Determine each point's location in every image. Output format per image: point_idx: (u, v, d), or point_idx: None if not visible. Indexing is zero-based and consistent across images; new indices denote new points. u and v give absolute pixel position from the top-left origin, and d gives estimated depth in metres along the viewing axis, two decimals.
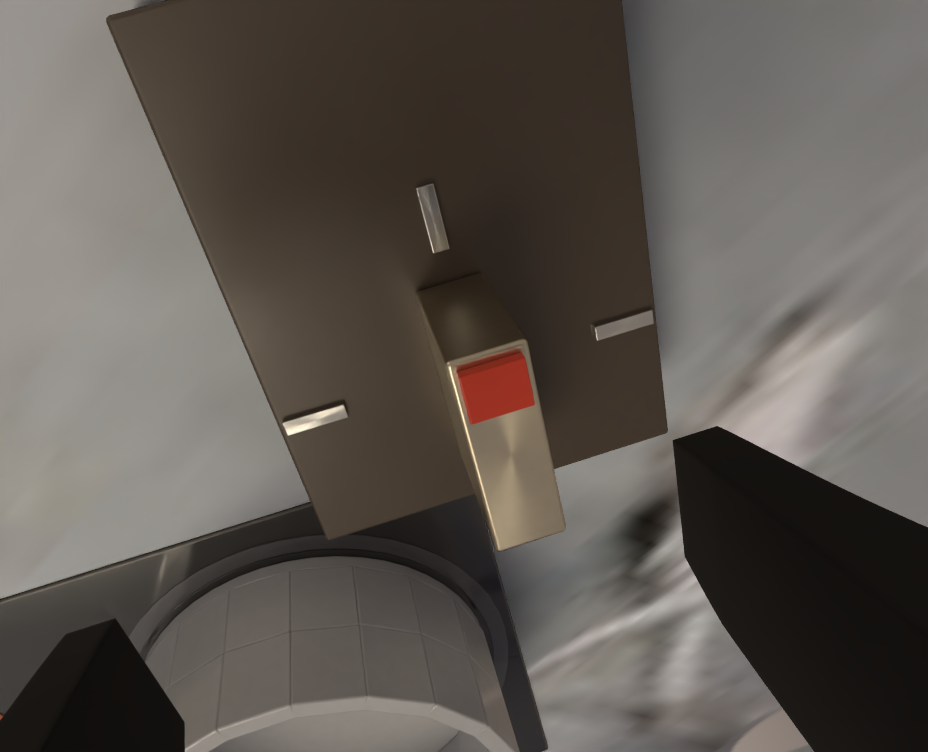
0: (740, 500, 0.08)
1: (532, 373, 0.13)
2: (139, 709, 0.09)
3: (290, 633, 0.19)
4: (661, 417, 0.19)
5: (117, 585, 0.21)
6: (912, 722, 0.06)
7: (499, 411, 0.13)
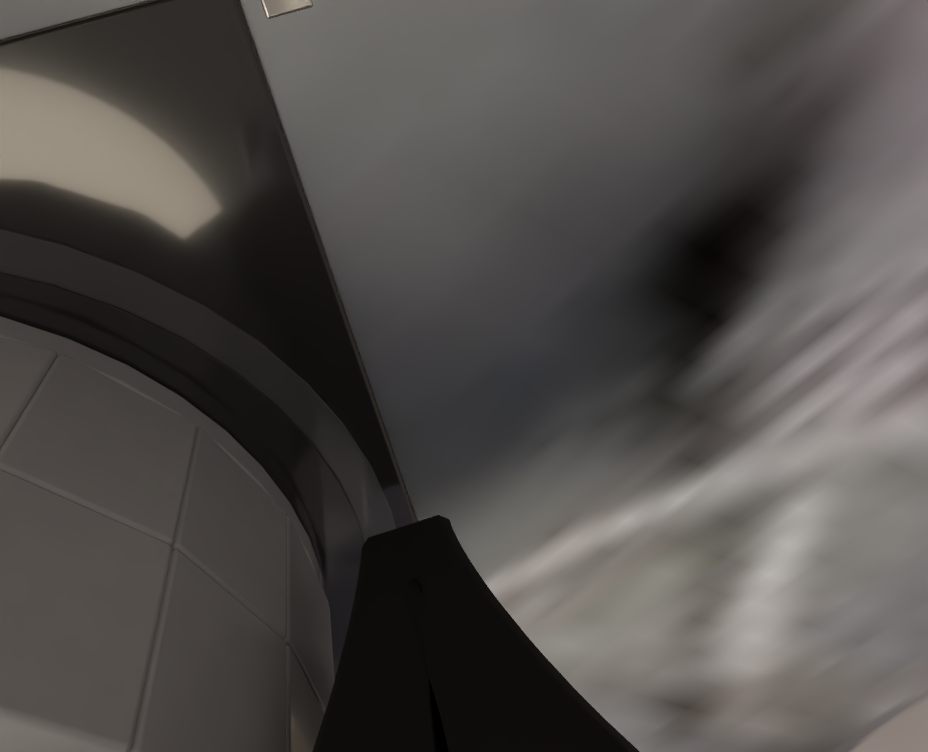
0: (409, 608, 0.08)
1: None
2: None
3: None
4: None
5: None
6: None
7: None
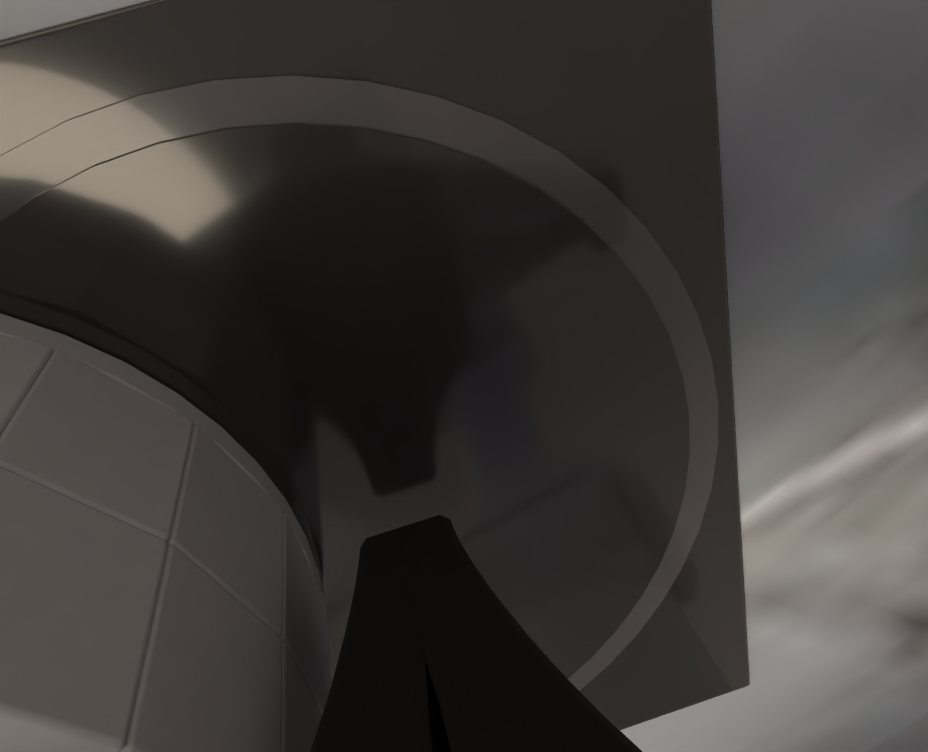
0: (409, 608, 0.08)
1: None
2: None
3: None
4: None
5: None
6: None
7: None
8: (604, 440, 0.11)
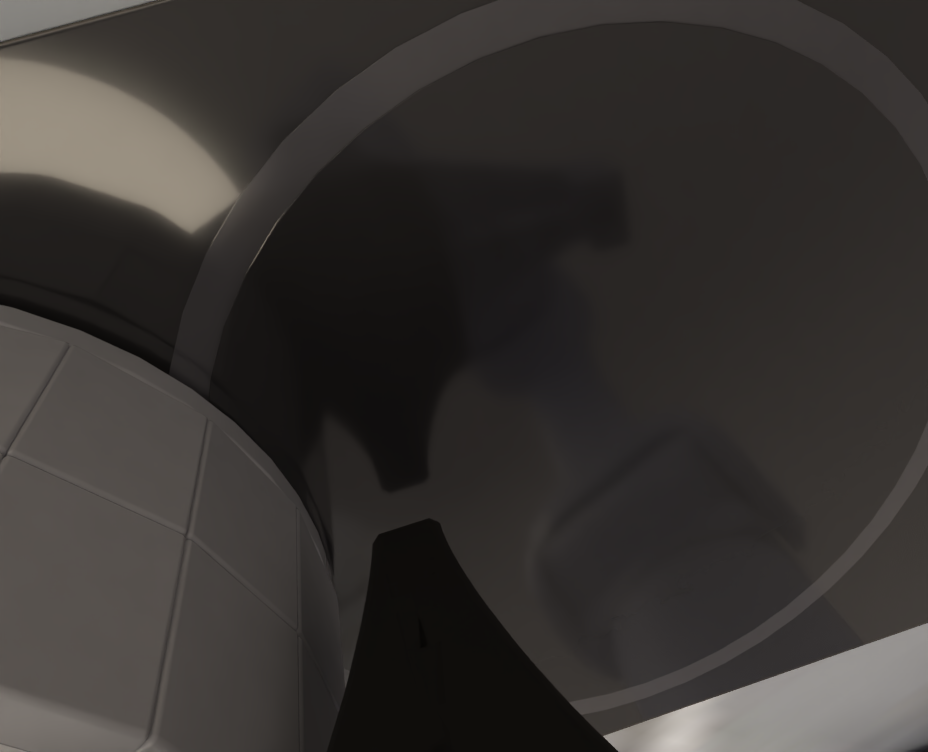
0: (397, 613, 0.08)
1: None
2: None
3: None
4: None
5: (191, 66, 0.08)
6: None
7: None
8: (869, 355, 0.12)
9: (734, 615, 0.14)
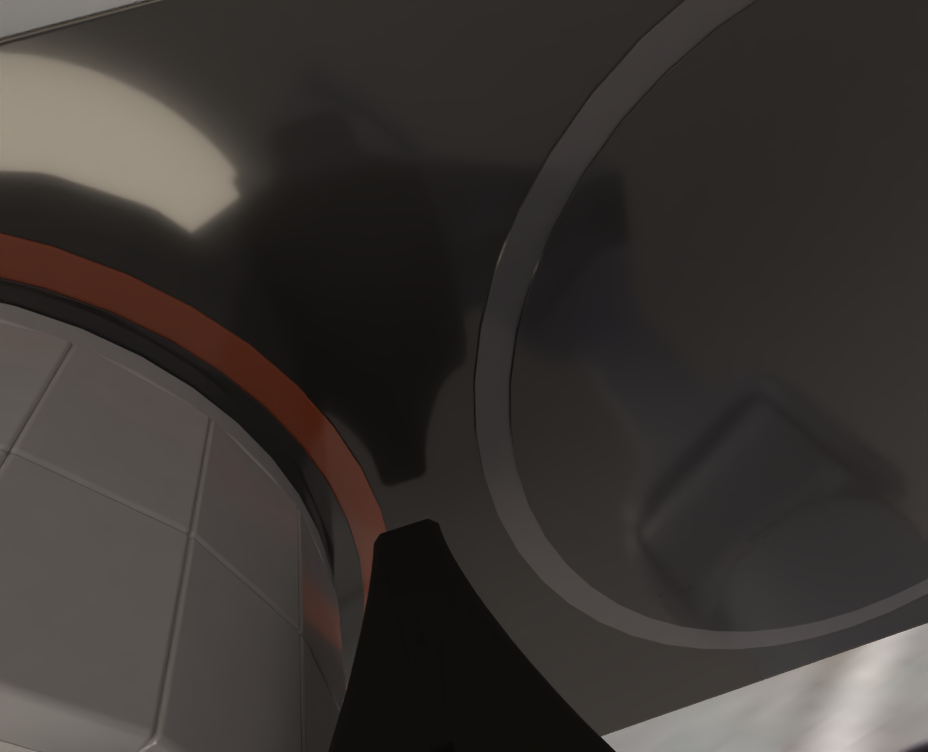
0: (396, 613, 0.08)
1: None
2: None
3: None
4: None
5: None
6: None
7: None
8: None
9: None
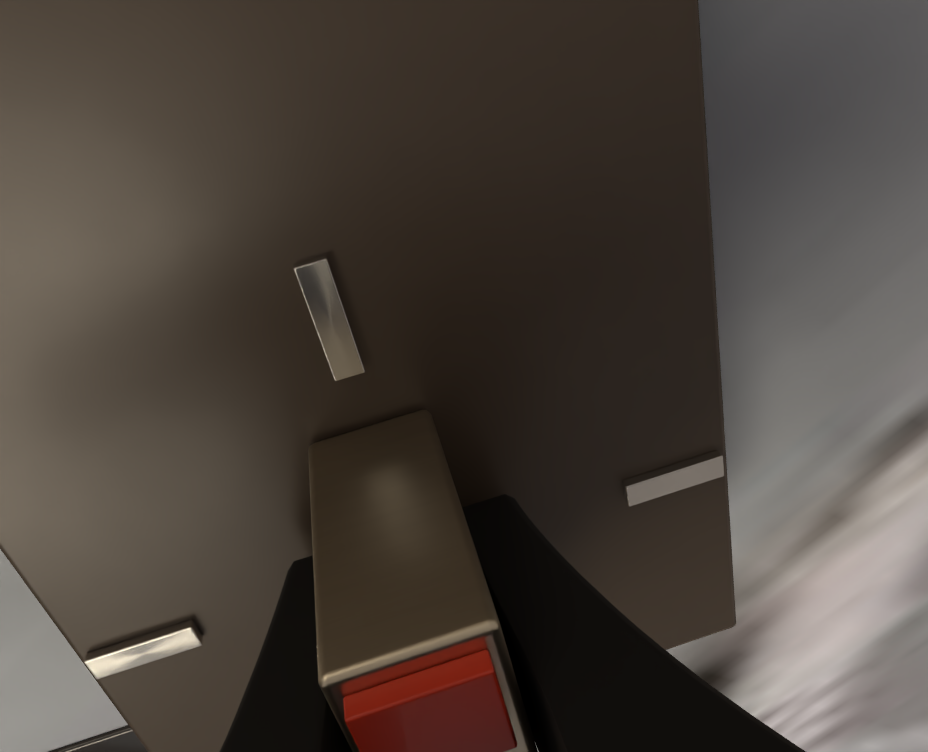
0: (487, 583, 0.08)
1: (511, 681, 0.06)
2: None
3: None
4: (728, 606, 0.12)
5: None
6: None
7: None
8: None
9: None
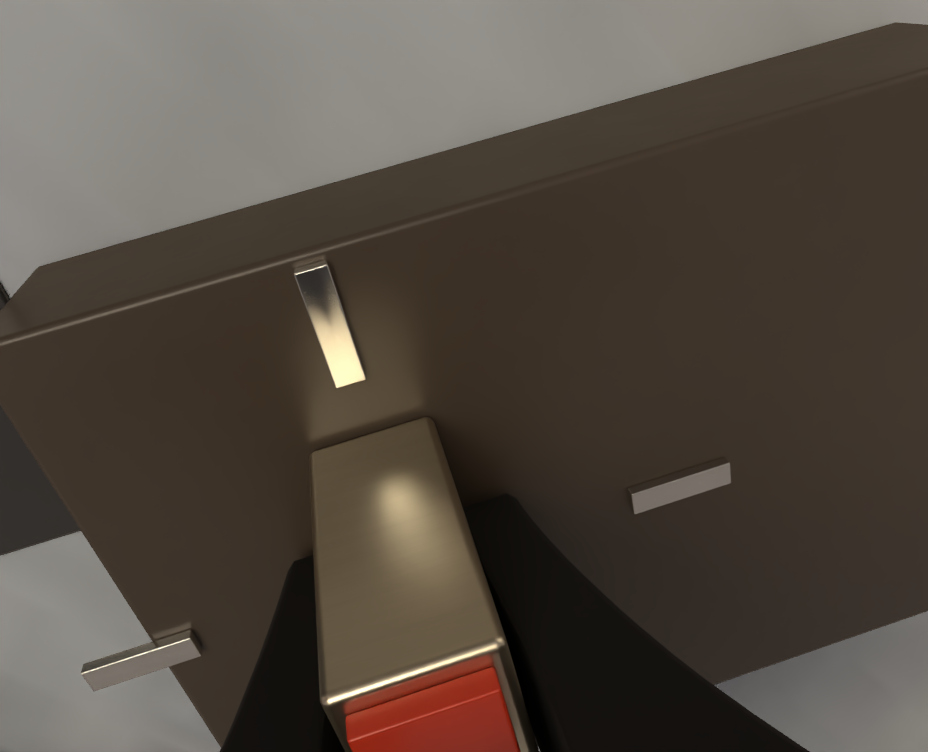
0: (489, 582, 0.08)
1: (518, 698, 0.06)
2: None
3: None
4: None
5: None
6: None
7: None
8: None
9: None
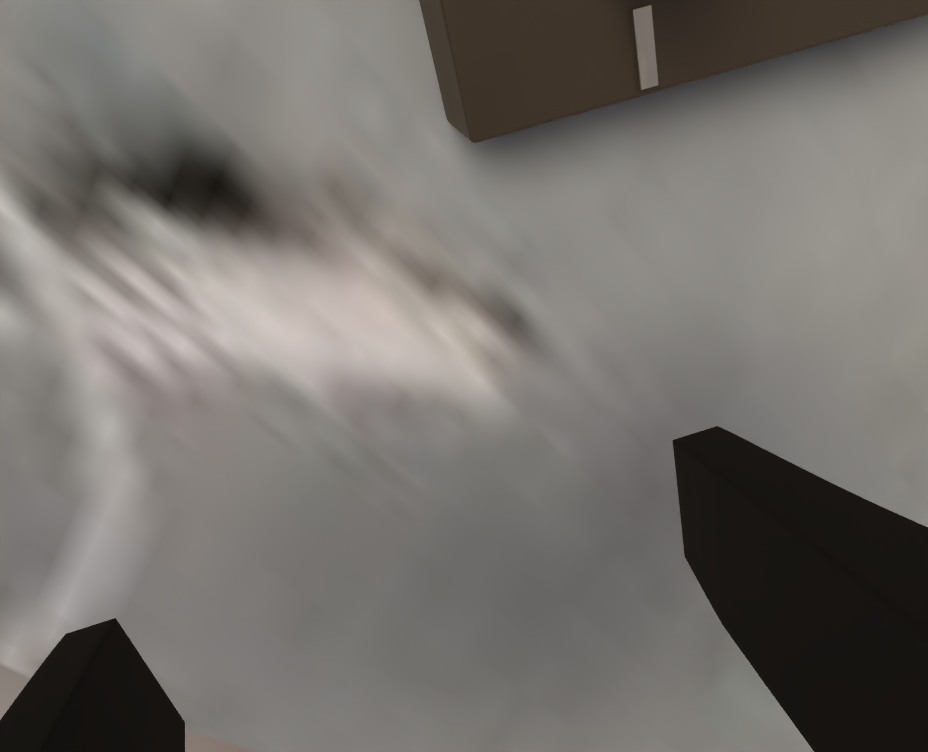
0: (740, 500, 0.08)
1: None
2: (139, 709, 0.09)
3: None
4: (499, 128, 0.14)
5: None
6: (912, 722, 0.06)
7: None
8: None
9: None
